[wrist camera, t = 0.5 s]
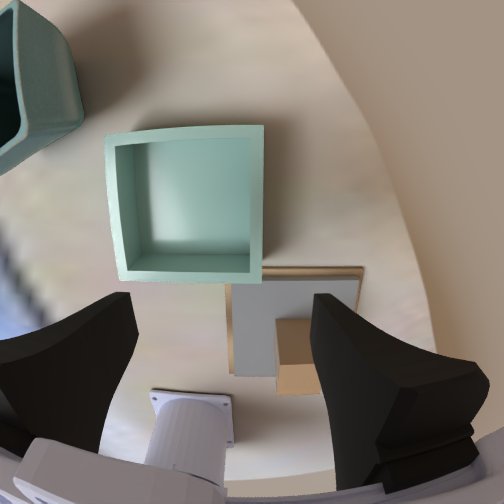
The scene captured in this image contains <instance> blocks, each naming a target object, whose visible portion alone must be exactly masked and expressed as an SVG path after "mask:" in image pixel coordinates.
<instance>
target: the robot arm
mask: <svg viewBox="0 0 504 504" xmlns="http://www.w3.org/2000/svg"><path fill="white" fill-rule="evenodd" d="M138 336H139V332H138V328H137V324H136V320H135V315H134V311H133V306H132V301H131V297H130V292H115V293H112V294H110V295H108V296H106V297H104V298H102V299H100V300H98V301H96V302H94V303H93V304H91V305H89V306H87V307H85V308H84V309H82V310H80V311H78V312H76V313H74V314H72V315H70V316H68V317H66V318H65V319H63V320H61V321H59V322H56V323H54V324H52V325H50V326H47V327H45V328H42V329H40V330H37V331H34V332H31V333H27V334H24V335H21V336H18V337H14V338H9V339H5V340H0V504H504V427H502V428H500V429H498V430H497V431H495V432H493V433H490V434H488V435H486V436H484V437H482V438H481V439H479V440H478V441H477V442H475V443H474V442H473V440H472V438H471V437H470V436H472V435H473V434H474V429H473V427H472V425H471V424H470V423H471V422H472V420H473V419H474V417H475V416H476V414H477V413H478V411H479V410H480V408H481V406H482V405H483V403H484V401H485V399H486V397H487V395H488V391H489V387H490V383H489V380H488V378H487V377H486V375H485V374H484V373H483V372H482V370H481V369H480V368H479V366H478V365H477V364H476V363H475V362H472V361H466V360H461V359H455V358H450V357H446V356H442V355H439V354H435V353H432V352H429V351H426V350H423V349H420V348H418V347H415V346H413V345H410V344H408V343H405V342H403V341H401V340H399V339H397V338H395V337H393V336H391V335H389V334H387V333H385V332H384V331H382V330H380V329H379V328H377V327H376V326H374V325H372V324H371V323H369V322H368V321H366V320H365V319H364V318H362V317H361V316H359V315H358V314H357V313H355V312H354V311H353V310H351V309H350V308H349V307H347V306H346V305H345V304H344V303H342V302H341V301H340V300H339V299H337V298H336V297H335V296H333V295H332V294H330V293H314V299H313V309H312V319H311V328H310V337H309V338H310V344H311V351H312V357H313V361H314V365H315V368H316V371H317V375H318V378H319V381H320V385H321V388H322V391H323V395H324V398H325V401H326V406H327V410H328V415H329V422H330V428H331V435H332V443H333V451H334V461H335V472H336V489H337V491H335V492H327V493H320V494H311V495H300V496H285V497H255V498H254V497H227V488H224V487H223V485H224V472H225V459H226V448H233V447H234V433H233V420H232V405H231V398H230V397H229V396H226V395H208V394H193V393H181V392H170V391H161V390H150V392H149V396H150V399H151V402H152V405H153V408H154V411H155V413H156V416H157V420H156V423H155V427H154V430H153V433H152V437H151V440H150V444H149V447H148V451H147V454H146V458H145V462H144V464H139V463H134V462H129V461H124V460H120V459H116V458H111V457H107V456H103V455H100V454H98V451H99V445H100V440H101V436H102V431H103V427H104V423H105V419H106V416H107V413H108V409H109V406H110V403H111V400H112V398H113V395H114V393H115V391H116V389H117V387H118V384H119V382H120V380H121V378H122V376H123V374H124V372H125V370H126V368H127V366H128V363H129V361H130V359H131V357H132V355H133V352H134V349H135V346H136V343H137V339H138Z"/></svg>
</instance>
